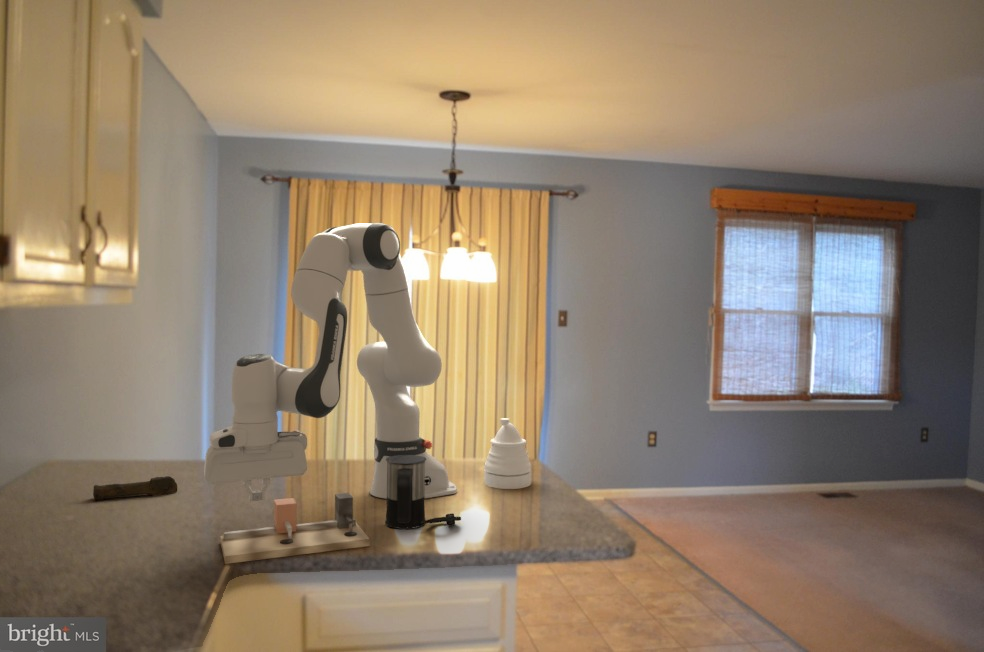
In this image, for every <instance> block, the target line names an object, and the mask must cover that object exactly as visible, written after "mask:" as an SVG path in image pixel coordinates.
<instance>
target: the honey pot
mask: <svg viewBox="0 0 984 652" xmlns="http://www.w3.org/2000/svg"><path fill="white" fill-rule="evenodd" d="M499 419H500V420H499V421H500V424H501V426H500V428H499V429H498V431H497V433H496V434H495V436H494V438H491V439H490V442H489V443H490V444H491V447H490V449H489V450H488V455H487V457H486V461H485V463H484V471H483V472H484V473H483V475H484V479H483V480H484V481H483V484H484V485H485V486H488V487H489V488H494V489H500V490H502V489H504V490H516V489H517V490H518V489H523V488H527V487H529V486H531V485H532V463H531V462H530V457H529V455H528V454H529V452H528V451H527V449H526V445H527V440H526V439H524V438H523V437H522V436H521V433H520V431H519V430H518V428H517V427H516V426H515V425H514V424H513V423H511V422H510V420H511V419H510V418H507V417H506V418H505V417H502V418H499Z"/></svg>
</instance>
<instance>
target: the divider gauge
mask: <svg viewBox="0 0 984 652" xmlns="http://www.w3.org/2000/svg"><path fill="white" fill-rule="evenodd" d="M353 507H354V497H353V496H352V495H351V493H350V492H343V493H335V494H334V520H333V519H331V520H325V521H315V522H314V521H313V522H308V523H307V522H306V523H305V522H304V523H298V524H297V527H296V531H294V532H292V538H291V539H288V532H285V533H276V527H274V526H270V527H261V528H251V529H244V530H240V529H239V530H231V531H224V532H223V534H222V535H220V539H219V541H220V543H219V544H220V547H221V550H222V551H221V553H222V557H223V560H224V564H225V565H228V564H229V565H230V564H235V563H243V562H251V561H258V560H259V561H260V560H267V559H275V558H283V557H291V556H292V557H293V556H301V555H307V554H315V553H324V552H332V551H338V550H339V551H340V550H347V549H348V550H349V549H357V548H363V547H370V537H369V536H368V535H367V534H366V532H365V531H364V530H363V529H362V528H361V526H360V525H359V524H358V523H357V520H356V518H355V517H354V515H353V514H354V512H353V511H354V508H353Z"/></svg>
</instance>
